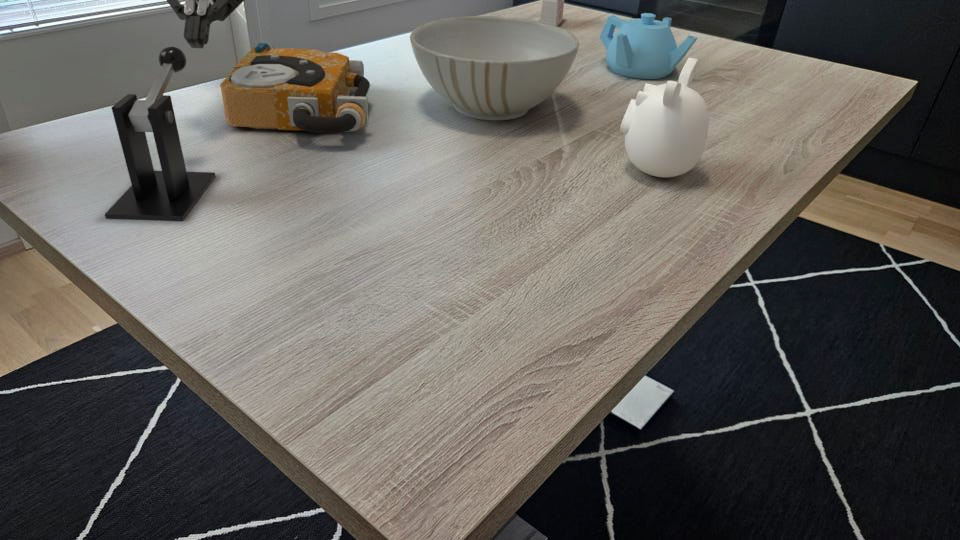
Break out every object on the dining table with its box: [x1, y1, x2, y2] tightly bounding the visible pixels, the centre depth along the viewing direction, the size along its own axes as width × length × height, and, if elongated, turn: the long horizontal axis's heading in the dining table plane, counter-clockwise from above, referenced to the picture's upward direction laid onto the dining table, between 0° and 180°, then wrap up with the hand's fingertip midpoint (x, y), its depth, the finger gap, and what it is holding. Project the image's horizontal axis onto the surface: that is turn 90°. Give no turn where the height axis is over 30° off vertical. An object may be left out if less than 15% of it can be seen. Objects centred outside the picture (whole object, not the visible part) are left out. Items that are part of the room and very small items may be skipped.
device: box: [219, 42, 371, 135], centre depth 110 cm, size 23×8×30 cm
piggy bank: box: [619, 56, 709, 178], centre depth 95 cm, size 12×12×15 cm
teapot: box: [598, 12, 698, 80], centre depth 137 cm, size 15×15×11 cm
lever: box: [128, 46, 187, 133], centre depth 85 cm, size 14×3×3 cm, turn 0°
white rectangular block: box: [540, 0, 565, 27], centre depth 165 cm, size 4×7×10 cm, turn 161°
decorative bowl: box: [409, 15, 580, 121], centre depth 115 cm, size 27×27×12 cm
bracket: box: [104, 93, 216, 222], centre depth 84 cm, size 12×9×13 cm
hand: (194, 45), depth 95 cm, fingers closed
